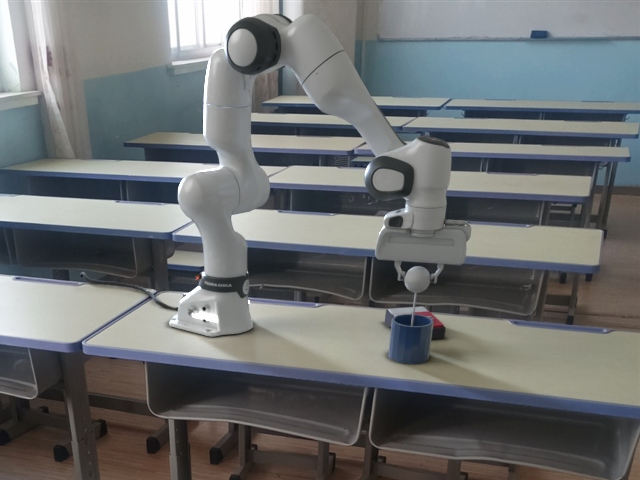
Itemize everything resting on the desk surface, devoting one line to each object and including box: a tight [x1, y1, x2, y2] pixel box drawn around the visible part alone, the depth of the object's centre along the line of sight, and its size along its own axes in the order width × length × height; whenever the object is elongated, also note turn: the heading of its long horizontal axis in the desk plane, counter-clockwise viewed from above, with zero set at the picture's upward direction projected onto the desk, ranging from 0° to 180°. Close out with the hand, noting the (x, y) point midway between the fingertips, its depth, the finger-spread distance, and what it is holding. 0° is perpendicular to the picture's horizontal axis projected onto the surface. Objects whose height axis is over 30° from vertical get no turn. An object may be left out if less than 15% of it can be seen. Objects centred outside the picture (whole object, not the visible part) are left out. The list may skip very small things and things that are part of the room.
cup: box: [388, 314, 434, 365], centre depth 192 cm, size 10×10×9 cm
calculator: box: [384, 306, 447, 340], centre depth 209 cm, size 11×4×15 cm
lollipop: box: [403, 265, 431, 326], centre depth 186 cm, size 6×6×15 cm
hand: (417, 281), depth 184 cm, fingers closed on lollipop, 6 cm apart
